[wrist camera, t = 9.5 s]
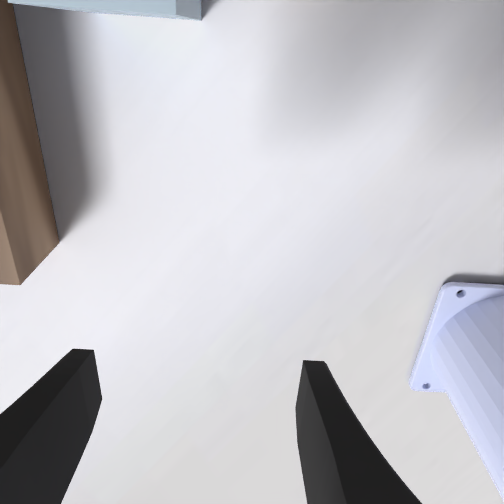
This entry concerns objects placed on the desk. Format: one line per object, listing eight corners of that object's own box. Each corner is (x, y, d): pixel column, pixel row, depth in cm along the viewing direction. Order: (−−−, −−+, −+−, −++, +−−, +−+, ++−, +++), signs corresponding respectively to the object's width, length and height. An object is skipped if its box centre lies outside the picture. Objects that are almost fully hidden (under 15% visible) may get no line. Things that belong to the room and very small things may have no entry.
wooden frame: (351, -295, 12) (391, -429, 9) (288, 254, 21) (294, 299, 18) (-123, -335, 12) (-283, -491, 8) (20, 240, 21) (-27, 282, 17)
